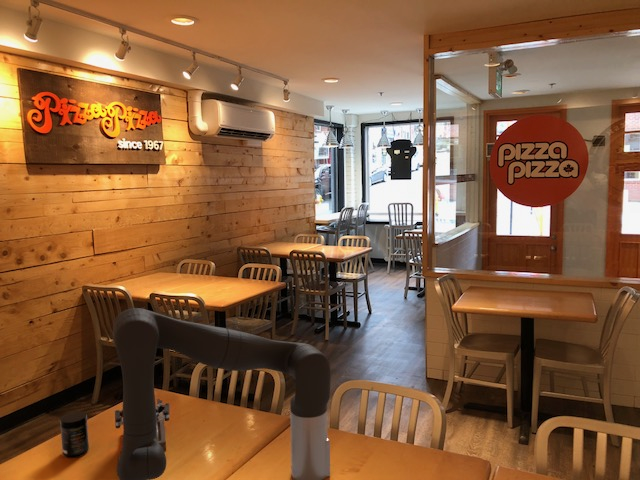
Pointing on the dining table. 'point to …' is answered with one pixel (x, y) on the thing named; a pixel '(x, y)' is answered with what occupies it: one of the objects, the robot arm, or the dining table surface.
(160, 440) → the tray
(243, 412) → the dining table surface
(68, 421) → the supplement container
